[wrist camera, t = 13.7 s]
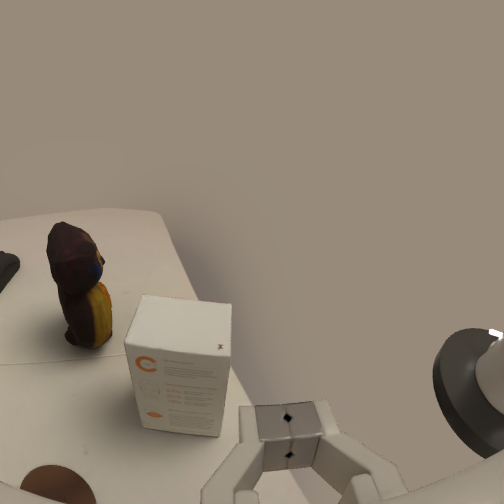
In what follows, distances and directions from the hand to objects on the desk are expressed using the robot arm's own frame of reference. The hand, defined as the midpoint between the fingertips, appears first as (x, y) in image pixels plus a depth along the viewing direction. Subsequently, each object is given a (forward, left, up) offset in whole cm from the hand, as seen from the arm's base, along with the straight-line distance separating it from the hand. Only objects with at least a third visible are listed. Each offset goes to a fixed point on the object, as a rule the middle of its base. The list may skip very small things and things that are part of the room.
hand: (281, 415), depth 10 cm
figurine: (+24, -16, -21) cm, 35 cm away
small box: (+8, -11, -21) cm, 25 cm away
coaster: (+15, +5, -21) cm, 26 cm away
